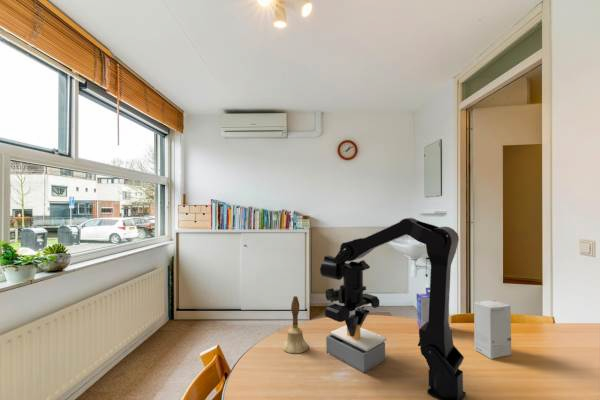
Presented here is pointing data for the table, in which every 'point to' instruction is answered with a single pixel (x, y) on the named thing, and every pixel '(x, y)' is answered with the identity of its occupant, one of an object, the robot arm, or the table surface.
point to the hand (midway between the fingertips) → (353, 335)
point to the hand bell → (295, 333)
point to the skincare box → (492, 328)
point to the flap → (359, 337)
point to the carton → (355, 353)
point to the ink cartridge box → (423, 308)
